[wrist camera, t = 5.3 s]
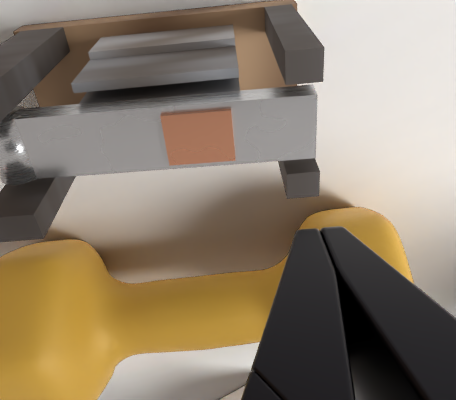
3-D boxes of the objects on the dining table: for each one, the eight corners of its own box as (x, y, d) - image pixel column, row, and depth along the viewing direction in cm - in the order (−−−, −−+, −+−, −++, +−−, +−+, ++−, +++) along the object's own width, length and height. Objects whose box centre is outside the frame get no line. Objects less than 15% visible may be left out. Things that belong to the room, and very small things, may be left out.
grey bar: (311, 80, 13) (319, 98, 12) (309, 141, 14) (317, 163, 13) (-12, 108, 13) (-35, 127, 12) (12, 164, 15) (-7, 186, 13)
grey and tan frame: (293, -2, 17) (341, 58, 10) (293, 110, 19) (332, 213, 13) (22, 25, 17) (-94, 99, 11) (58, 132, 20) (-18, 243, 13)
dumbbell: (62, 324, 27) (12, 463, 20) (4, 207, 22) (-88, 340, 15) (368, 295, 26) (421, 430, 20) (381, 166, 21) (458, 288, 15)
